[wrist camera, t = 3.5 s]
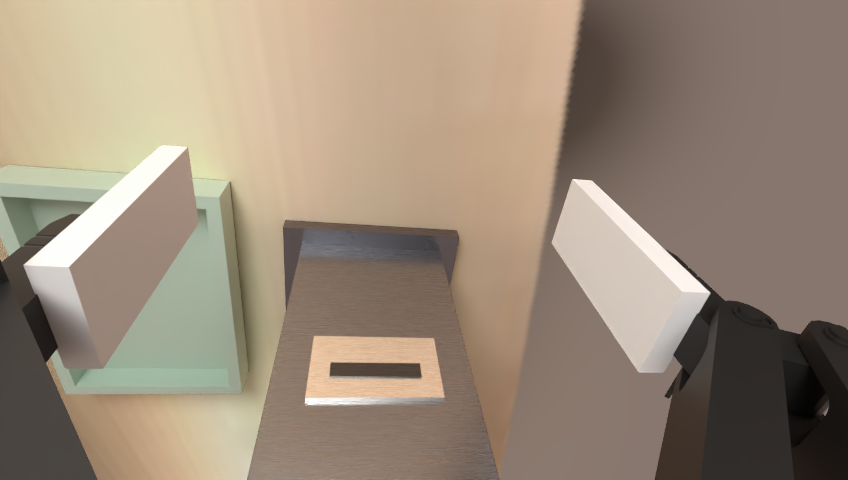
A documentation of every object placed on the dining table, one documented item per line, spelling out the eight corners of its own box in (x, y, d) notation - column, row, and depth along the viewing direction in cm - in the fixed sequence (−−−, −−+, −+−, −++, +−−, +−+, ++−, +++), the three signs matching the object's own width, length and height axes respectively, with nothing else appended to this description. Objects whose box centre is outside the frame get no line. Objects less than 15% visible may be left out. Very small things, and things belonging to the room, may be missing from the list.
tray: (83, 369, 29) (65, 394, 27) (7, 164, 22) (-23, 181, 20) (248, 370, 31) (241, 394, 29) (229, 181, 24) (219, 197, 22)
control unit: (289, 348, 30) (227, 657, 17) (285, 220, 25) (191, 516, 12) (433, 350, 32) (482, 633, 18) (456, 230, 27) (549, 500, 13)
